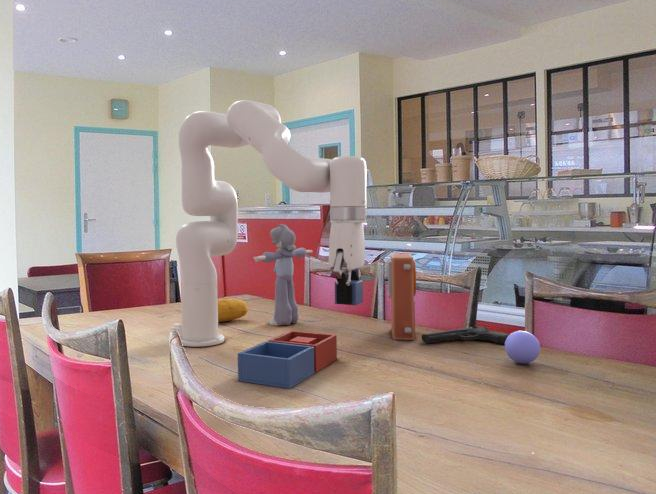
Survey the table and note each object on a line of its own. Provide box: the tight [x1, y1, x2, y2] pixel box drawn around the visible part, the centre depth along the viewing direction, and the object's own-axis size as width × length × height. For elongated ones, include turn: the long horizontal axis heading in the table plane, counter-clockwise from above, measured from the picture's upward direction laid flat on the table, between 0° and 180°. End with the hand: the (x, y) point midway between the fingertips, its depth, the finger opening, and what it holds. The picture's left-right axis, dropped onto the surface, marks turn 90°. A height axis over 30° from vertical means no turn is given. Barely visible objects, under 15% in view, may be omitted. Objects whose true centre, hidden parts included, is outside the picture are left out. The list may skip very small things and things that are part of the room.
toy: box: [253, 223, 314, 326], centre depth 174 cm, size 30×8×30 cm, turn 144°
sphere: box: [504, 330, 541, 365], centre depth 125 cm, size 7×7×7 cm
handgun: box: [421, 325, 511, 345], centre depth 145 cm, size 3×20×12 cm
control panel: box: [387, 253, 417, 341], centre depth 155 cm, size 21×7×15 cm
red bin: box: [267, 330, 338, 373], centre depth 129 cm, size 12×12×6 cm
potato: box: [218, 298, 249, 323], centre depth 179 cm, size 8×14×7 cm, turn 108°
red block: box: [289, 337, 316, 345], centre depth 129 cm, size 5×5×5 cm
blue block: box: [334, 279, 364, 306], centre depth 121 cm, size 5×5×5 cm
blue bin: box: [237, 341, 315, 389], centre depth 118 cm, size 12×12×6 cm
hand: (348, 301), depth 121 cm, fingers closed on blue block, 4 cm apart
